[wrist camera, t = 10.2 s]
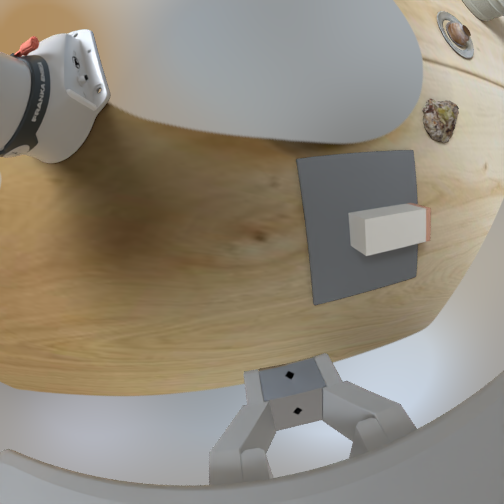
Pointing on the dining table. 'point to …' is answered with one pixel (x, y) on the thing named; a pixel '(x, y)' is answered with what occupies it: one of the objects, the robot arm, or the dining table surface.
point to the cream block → (389, 228)
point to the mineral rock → (440, 119)
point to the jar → (486, 8)
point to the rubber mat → (337, 219)
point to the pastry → (456, 34)
